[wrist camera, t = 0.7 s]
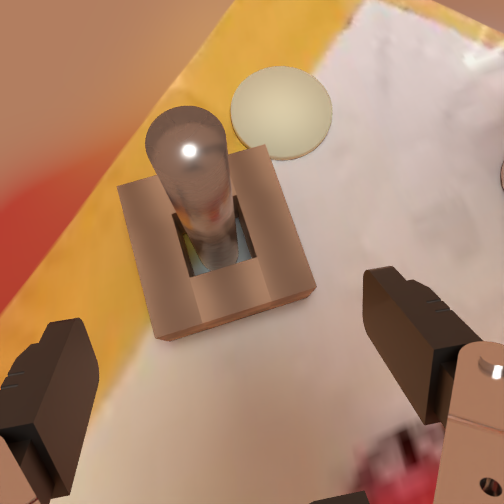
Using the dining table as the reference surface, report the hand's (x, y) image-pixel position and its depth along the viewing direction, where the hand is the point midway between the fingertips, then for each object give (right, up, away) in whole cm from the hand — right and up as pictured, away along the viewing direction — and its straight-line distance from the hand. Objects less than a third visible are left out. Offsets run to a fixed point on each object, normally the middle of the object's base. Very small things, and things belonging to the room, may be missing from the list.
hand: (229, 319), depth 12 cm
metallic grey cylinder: (-3, +2, +30) cm, 30 cm away
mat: (+4, +17, +34) cm, 38 cm away
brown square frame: (-3, +2, +30) cm, 30 cm away
